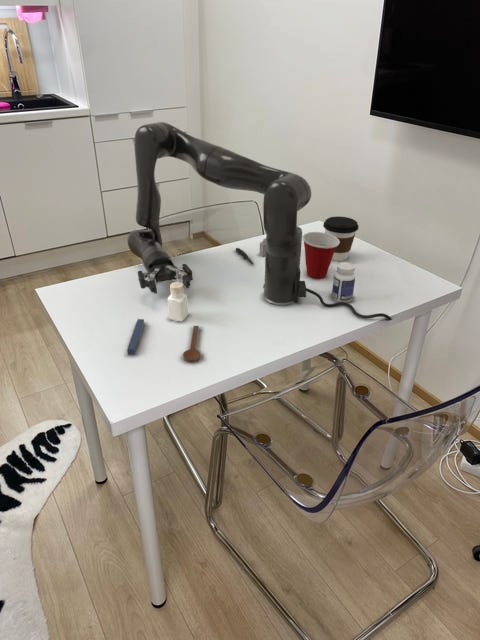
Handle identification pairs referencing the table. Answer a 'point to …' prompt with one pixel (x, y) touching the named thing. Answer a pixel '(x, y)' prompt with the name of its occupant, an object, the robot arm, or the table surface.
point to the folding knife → (244, 255)
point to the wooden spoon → (193, 348)
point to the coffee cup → (341, 234)
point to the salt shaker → (177, 302)
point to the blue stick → (135, 337)
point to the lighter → (263, 247)
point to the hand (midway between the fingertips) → (171, 287)
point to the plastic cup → (319, 253)
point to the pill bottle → (343, 282)
